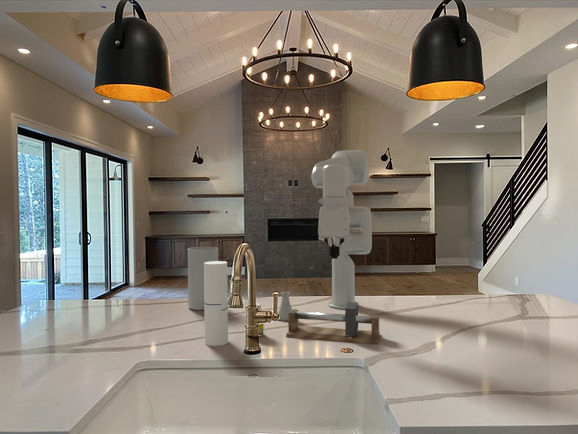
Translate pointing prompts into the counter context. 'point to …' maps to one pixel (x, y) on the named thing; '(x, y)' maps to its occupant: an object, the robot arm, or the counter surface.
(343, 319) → the steel pipe
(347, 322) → the rubber collar
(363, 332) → the pipe stand
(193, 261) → the cylinder vase
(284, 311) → the flask
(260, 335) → the supplement bottle
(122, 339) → the counter surface
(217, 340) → the cylindrical container
